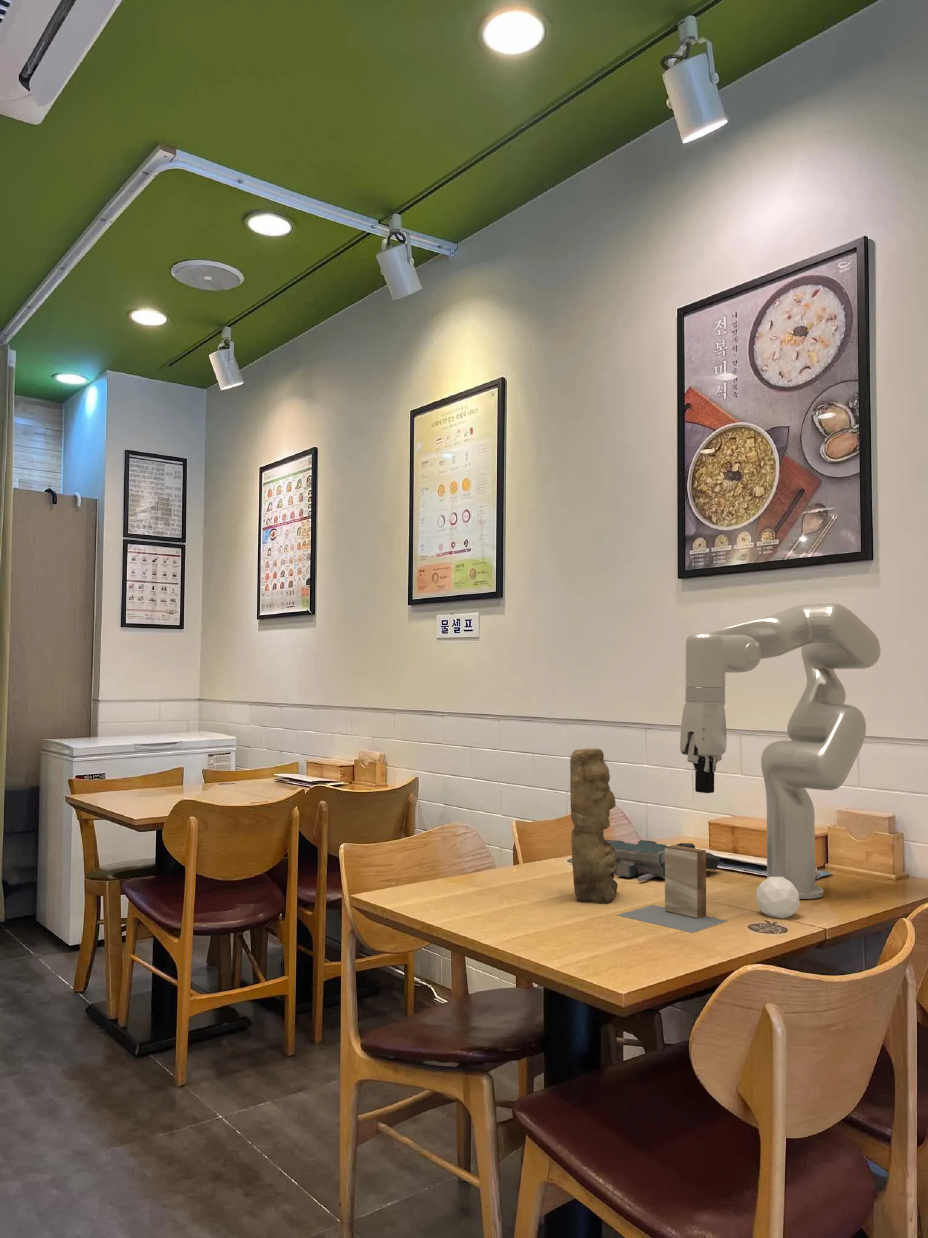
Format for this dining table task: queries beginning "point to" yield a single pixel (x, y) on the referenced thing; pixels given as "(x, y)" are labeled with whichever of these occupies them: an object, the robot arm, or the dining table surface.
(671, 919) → the mat
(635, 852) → the toy
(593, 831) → the sculpture
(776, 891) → the geometric ball
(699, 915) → the wooden block
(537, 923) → the dining table surface
